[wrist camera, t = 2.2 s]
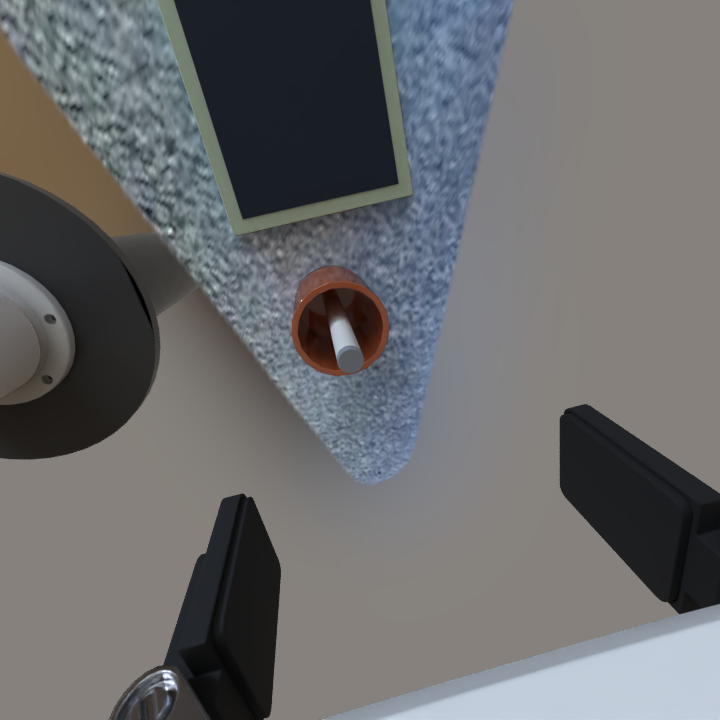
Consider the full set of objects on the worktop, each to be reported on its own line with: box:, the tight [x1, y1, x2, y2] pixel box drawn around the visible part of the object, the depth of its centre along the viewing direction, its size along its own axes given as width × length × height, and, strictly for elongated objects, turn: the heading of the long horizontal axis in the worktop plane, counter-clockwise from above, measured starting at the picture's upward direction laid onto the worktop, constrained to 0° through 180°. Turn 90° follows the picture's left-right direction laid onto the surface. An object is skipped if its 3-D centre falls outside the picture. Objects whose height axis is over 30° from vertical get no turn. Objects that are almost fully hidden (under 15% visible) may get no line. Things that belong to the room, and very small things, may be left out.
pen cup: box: [291, 266, 390, 376], centre depth 28 cm, size 6×6×8 cm
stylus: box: [325, 297, 364, 373], centre depth 25 cm, size 1×1×13 cm
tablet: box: [157, 0, 413, 236], centre depth 25 cm, size 14×18×1 cm
